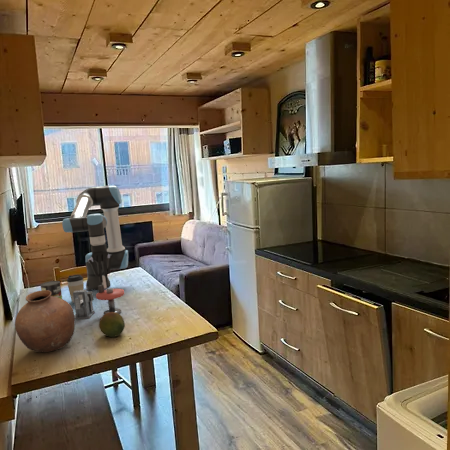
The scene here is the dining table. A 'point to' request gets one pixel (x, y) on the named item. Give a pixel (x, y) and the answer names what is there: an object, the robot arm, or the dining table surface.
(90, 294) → the hook rod
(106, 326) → the fruit
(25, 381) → the dining table surface
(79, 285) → the coffee cup
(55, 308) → the pottery
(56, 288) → the coffee can
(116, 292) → the pot lid
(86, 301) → the grey block assembly
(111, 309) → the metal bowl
